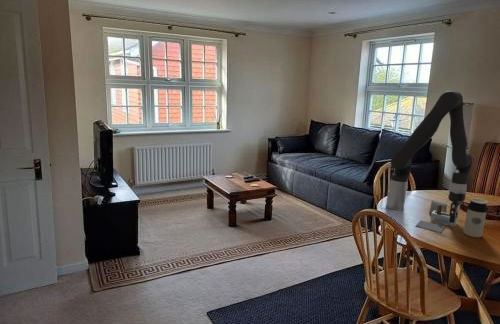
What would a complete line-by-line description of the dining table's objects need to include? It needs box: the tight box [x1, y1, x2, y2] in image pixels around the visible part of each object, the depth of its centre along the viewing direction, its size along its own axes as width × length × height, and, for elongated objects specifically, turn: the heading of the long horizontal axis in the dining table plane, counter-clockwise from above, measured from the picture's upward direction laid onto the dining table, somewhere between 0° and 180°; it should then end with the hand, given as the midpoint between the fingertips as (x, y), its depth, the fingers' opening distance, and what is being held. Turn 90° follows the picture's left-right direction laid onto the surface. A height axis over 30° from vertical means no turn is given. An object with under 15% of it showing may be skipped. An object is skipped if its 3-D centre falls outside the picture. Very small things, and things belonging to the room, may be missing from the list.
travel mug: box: [463, 197, 489, 238], centre depth 179 cm, size 8×8×18 cm
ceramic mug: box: [429, 199, 448, 214], centre depth 209 cm, size 11×8×8 cm
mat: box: [415, 219, 446, 234], centre depth 189 cm, size 12×10×1 cm
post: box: [437, 205, 442, 214], centre depth 197 cm, size 2×2×9 cm
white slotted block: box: [429, 210, 459, 228], centre depth 195 cm, size 12×6×4 cm, turn 52°
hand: (453, 220), depth 193 cm, fingers open, 8 cm apart
